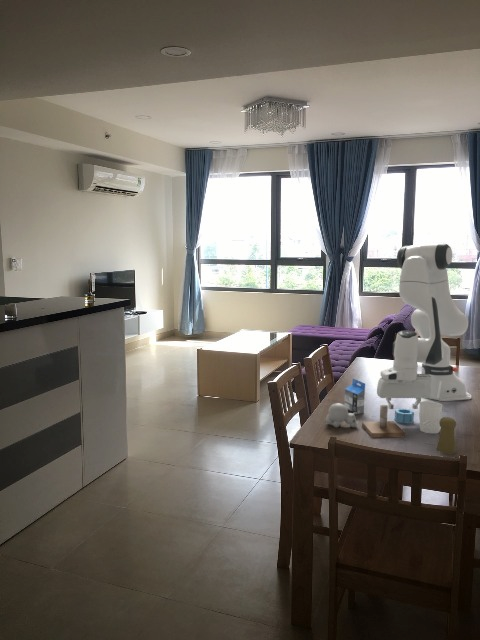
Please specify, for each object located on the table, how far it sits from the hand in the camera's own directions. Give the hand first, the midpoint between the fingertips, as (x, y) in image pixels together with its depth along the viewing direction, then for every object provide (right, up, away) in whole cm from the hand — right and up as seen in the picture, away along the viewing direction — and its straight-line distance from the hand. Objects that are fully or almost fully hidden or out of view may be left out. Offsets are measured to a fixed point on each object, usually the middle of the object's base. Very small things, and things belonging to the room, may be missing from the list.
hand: (402, 408), depth 206 cm
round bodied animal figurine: (-24, -6, -6) cm, 26 cm away
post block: (-11, -6, -11) cm, 16 cm away
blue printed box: (-16, -3, +13) cm, 21 cm away
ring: (+1, -5, +1) cm, 5 cm away
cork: (+6, -9, -29) cm, 31 cm away
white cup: (+7, -7, -10) cm, 14 cm away
